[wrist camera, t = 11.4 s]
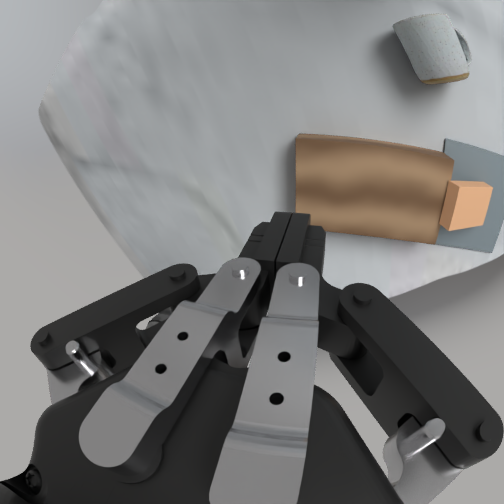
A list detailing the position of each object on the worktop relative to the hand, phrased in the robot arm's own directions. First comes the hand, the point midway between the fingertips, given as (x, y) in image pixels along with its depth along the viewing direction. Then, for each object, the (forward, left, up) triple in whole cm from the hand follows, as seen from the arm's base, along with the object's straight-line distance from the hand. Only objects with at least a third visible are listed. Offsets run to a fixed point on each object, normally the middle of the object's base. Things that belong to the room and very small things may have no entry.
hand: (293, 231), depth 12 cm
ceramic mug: (-14, +15, -26) cm, 33 cm away
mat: (+6, +24, -26) cm, 36 cm away
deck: (+6, +7, -26) cm, 27 cm away
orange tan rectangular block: (+6, +21, -23) cm, 32 cm away
